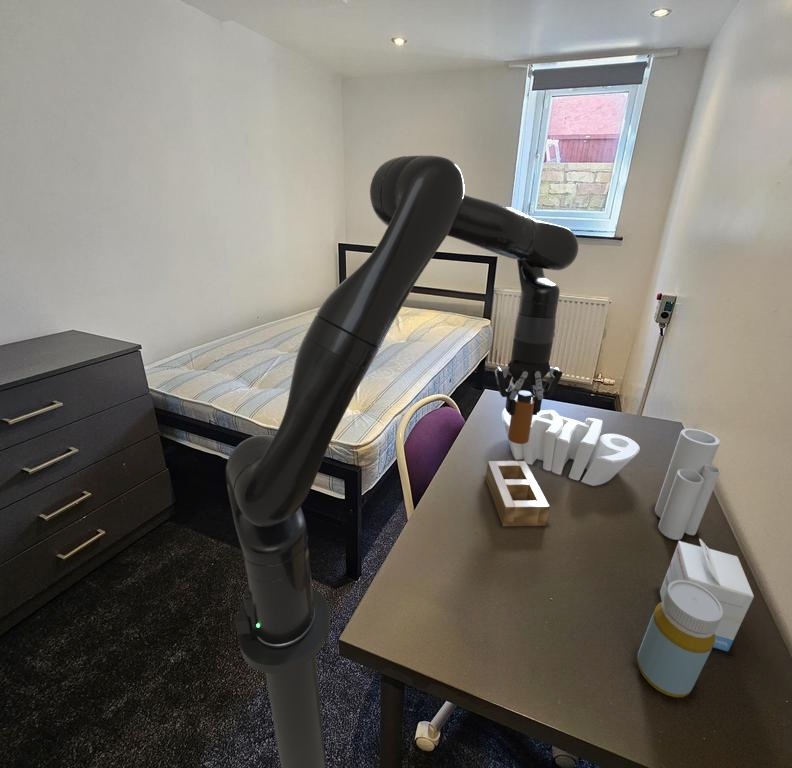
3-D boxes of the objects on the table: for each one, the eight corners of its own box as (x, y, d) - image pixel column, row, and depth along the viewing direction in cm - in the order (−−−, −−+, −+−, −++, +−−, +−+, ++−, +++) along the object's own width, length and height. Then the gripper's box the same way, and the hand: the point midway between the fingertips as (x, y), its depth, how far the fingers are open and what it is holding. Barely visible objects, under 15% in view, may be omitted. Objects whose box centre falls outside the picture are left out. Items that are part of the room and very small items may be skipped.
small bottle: (511, 444, 88) (517, 397, 83) (505, 433, 92) (511, 388, 87) (531, 444, 88) (539, 397, 84) (525, 433, 92) (532, 388, 88)
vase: (652, 502, 94) (677, 425, 86) (688, 510, 92) (717, 432, 84) (660, 536, 84) (689, 453, 76) (700, 546, 82) (735, 462, 74)
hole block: (502, 526, 85) (505, 507, 83) (485, 478, 100) (487, 460, 98) (546, 525, 86) (550, 506, 84) (522, 477, 101) (525, 460, 99)
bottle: (626, 649, 62) (653, 577, 56) (671, 648, 62) (702, 576, 56) (652, 700, 55) (685, 625, 50) (702, 699, 56) (741, 624, 50)
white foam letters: (485, 448, 112) (489, 414, 108) (509, 425, 125) (514, 393, 121) (622, 500, 94) (633, 461, 90) (635, 467, 107) (645, 432, 103)
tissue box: (729, 654, 62) (762, 590, 57) (666, 633, 65) (692, 570, 59) (714, 607, 69) (742, 546, 64) (658, 590, 72) (680, 530, 67)
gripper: (561, 331, 84) (548, 405, 91) (493, 330, 83) (485, 405, 90) (576, 342, 78) (561, 422, 84) (502, 341, 77) (492, 422, 83)
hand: (521, 413), depth 87 cm, fingers closed on small bottle, 4 cm apart
